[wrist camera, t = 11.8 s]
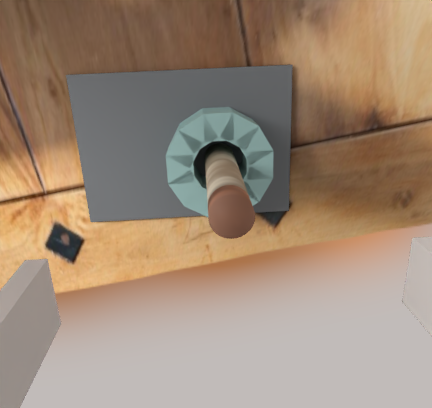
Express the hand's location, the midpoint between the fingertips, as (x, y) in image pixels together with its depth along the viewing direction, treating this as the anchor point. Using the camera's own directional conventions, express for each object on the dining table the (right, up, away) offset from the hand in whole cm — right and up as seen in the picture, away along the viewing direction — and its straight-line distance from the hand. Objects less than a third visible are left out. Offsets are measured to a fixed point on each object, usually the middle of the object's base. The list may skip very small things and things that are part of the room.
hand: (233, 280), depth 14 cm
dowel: (0, +7, +23) cm, 24 cm away
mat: (-4, +8, +23) cm, 25 cm away
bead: (-1, +7, +23) cm, 24 cm away
